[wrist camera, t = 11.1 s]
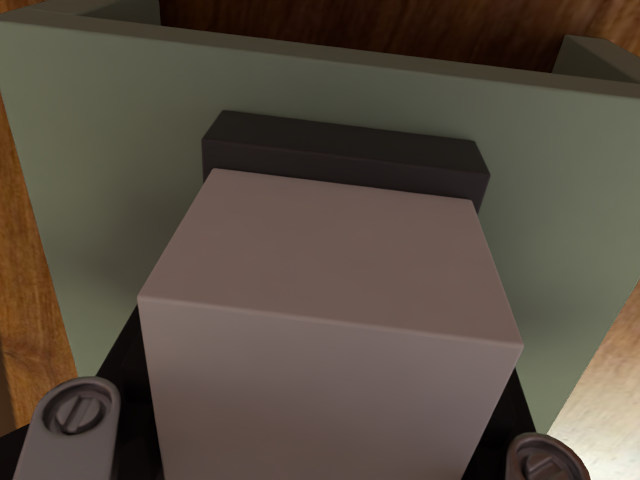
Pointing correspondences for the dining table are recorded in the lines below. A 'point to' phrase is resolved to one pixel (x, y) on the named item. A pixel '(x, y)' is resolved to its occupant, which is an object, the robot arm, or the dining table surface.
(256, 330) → the black base with blocks
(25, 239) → the dining table surface
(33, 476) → the robot arm
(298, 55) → the olive lipped platform
